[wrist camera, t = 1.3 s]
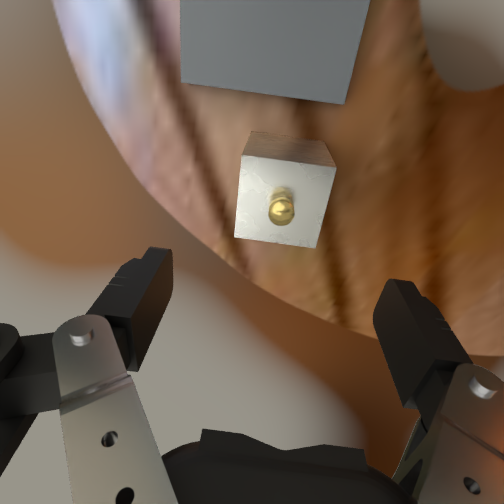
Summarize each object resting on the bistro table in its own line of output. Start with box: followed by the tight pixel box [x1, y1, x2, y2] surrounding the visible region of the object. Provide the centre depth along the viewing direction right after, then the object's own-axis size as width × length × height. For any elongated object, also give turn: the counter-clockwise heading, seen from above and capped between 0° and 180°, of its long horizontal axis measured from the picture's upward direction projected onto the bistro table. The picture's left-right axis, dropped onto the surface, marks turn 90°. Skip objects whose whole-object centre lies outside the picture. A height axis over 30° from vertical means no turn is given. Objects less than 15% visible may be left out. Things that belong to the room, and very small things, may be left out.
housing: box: [234, 131, 337, 248], centre depth 19 cm, size 5×5×7 cm
